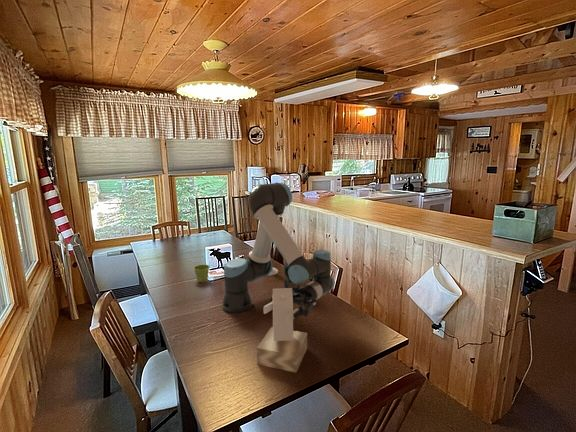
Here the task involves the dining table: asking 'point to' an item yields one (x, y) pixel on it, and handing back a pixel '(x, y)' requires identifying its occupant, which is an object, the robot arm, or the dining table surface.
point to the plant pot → (201, 272)
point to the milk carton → (282, 314)
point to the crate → (282, 351)
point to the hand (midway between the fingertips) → (275, 314)
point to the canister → (288, 282)
